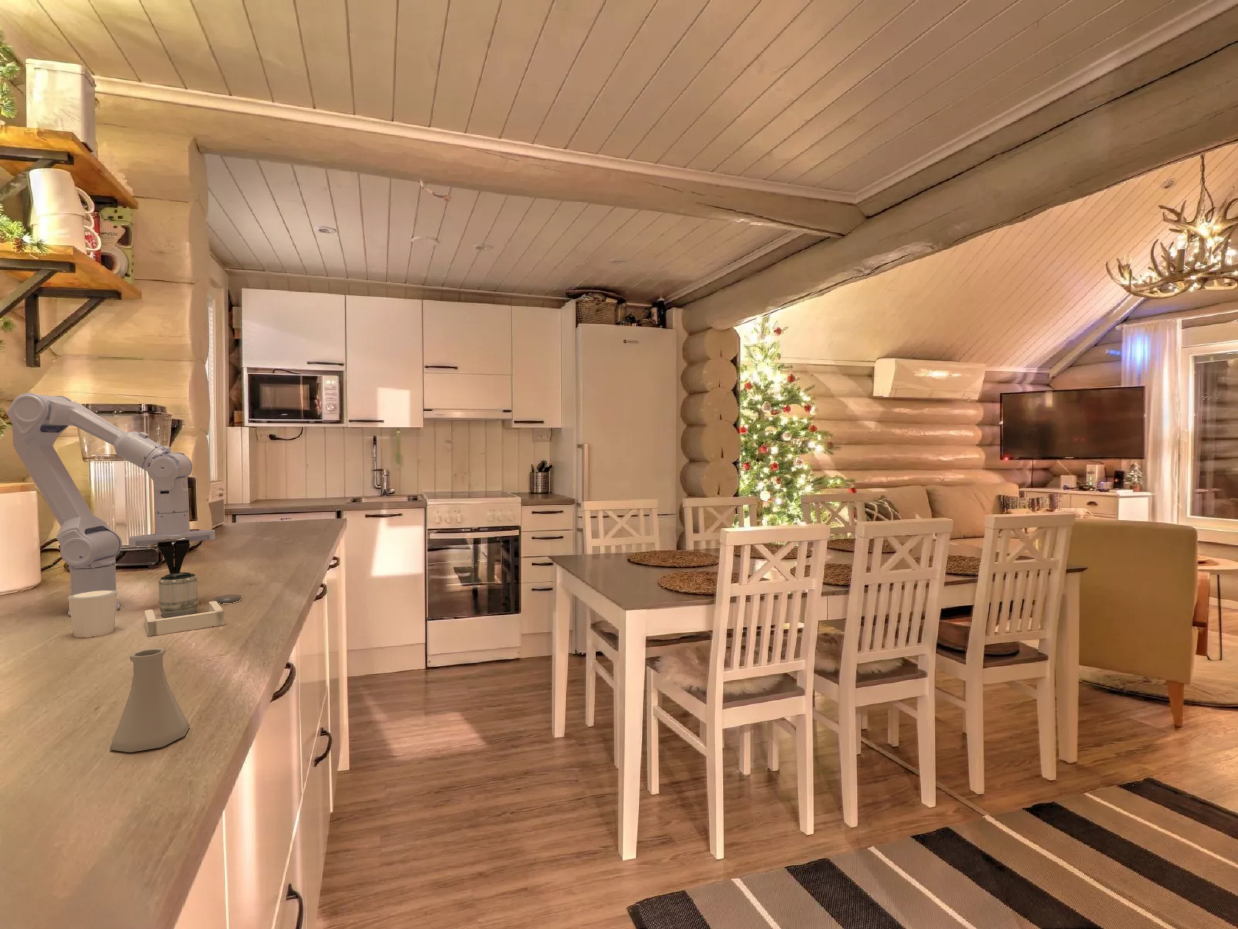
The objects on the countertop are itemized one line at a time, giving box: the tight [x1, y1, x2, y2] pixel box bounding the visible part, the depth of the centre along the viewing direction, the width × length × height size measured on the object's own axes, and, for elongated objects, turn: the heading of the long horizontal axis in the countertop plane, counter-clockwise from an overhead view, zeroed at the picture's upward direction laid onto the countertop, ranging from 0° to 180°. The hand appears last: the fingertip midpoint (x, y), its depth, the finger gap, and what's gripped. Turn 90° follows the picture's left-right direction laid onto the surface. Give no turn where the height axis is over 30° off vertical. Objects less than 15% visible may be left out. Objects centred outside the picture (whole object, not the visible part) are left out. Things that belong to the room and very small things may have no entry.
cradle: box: [144, 600, 225, 637], centre depth 122 cm, size 10×11×2 cm
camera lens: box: [158, 571, 199, 618], centre depth 130 cm, size 6×6×8 cm
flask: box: [109, 647, 191, 753], centre depth 75 cm, size 7×7×10 cm
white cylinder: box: [67, 589, 118, 638], centre depth 117 cm, size 7×7×7 cm
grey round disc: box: [213, 594, 242, 604], centre depth 140 cm, size 5×5×1 cm
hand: (174, 578), depth 136 cm, fingers closed
